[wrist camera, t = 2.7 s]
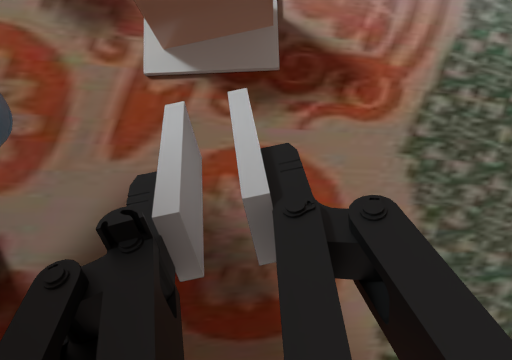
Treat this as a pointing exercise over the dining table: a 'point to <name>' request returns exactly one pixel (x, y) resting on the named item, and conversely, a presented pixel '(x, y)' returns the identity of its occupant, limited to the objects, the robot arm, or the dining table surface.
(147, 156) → the dining table surface
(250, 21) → the tile
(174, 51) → the mat
